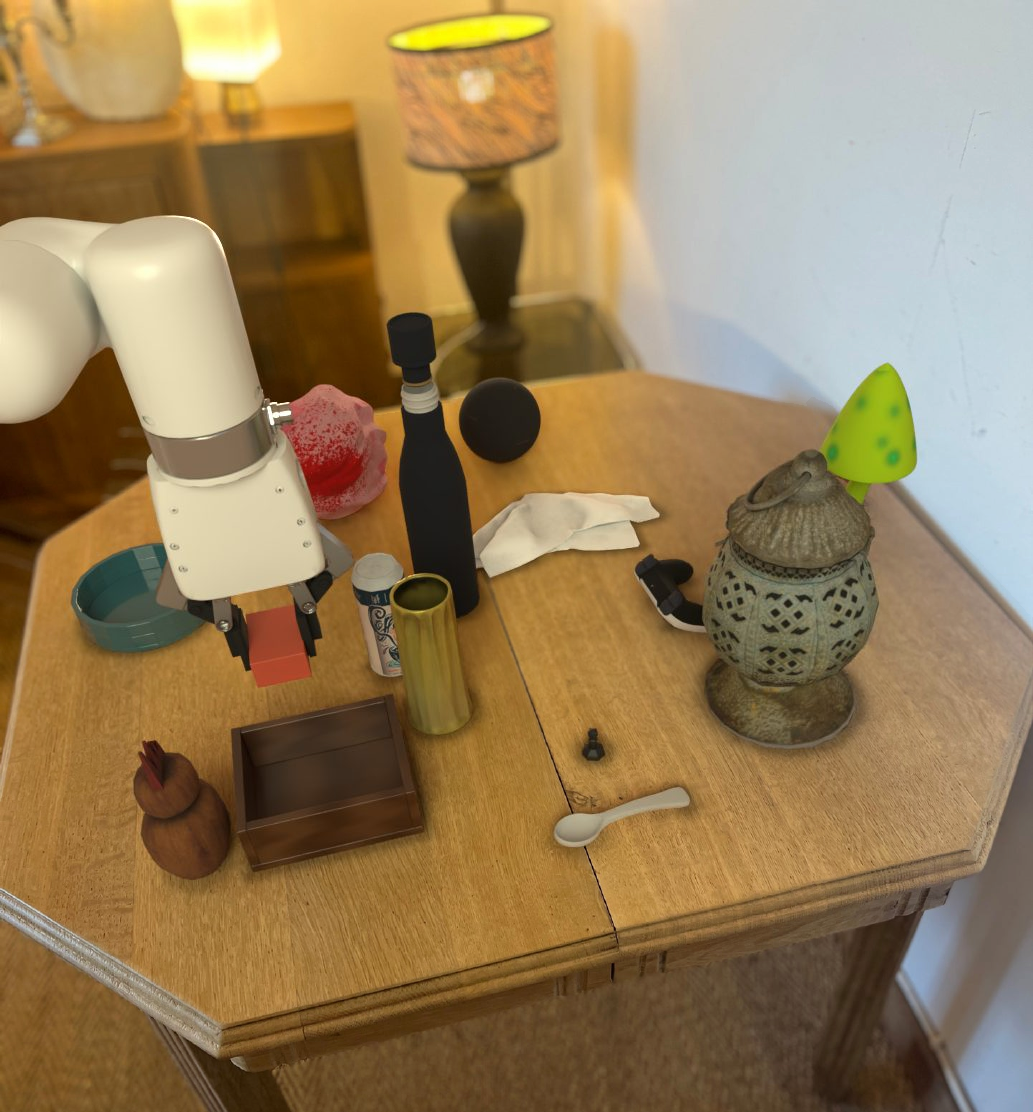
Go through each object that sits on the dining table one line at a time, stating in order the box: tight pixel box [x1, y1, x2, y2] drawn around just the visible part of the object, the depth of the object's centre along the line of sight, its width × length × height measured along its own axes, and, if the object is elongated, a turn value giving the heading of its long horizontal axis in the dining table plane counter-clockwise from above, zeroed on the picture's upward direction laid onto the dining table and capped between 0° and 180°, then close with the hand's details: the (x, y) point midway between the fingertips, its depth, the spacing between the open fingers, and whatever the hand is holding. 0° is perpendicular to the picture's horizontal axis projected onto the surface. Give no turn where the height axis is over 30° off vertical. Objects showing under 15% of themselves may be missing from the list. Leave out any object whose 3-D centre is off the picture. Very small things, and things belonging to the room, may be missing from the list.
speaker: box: [458, 377, 542, 464], centre depth 119 cm, size 10×10×10 cm
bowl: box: [70, 542, 207, 653], centre depth 104 cm, size 14×14×4 cm
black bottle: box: [386, 311, 481, 619], centre depth 92 cm, size 6×6×30 cm
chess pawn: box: [581, 727, 606, 762], centre depth 85 cm, size 2×2×3 cm
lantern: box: [702, 449, 880, 750], centre depth 81 cm, size 14×14×25 cm
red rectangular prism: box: [245, 603, 313, 689], centre depth 74 cm, size 6×4×2 cm, turn 14°
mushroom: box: [819, 362, 918, 506], centre depth 91 cm, size 8×8×25 cm
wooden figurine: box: [132, 739, 231, 881], centre depth 75 cm, size 7×6×15 cm
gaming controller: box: [633, 553, 707, 634], centre depth 98 cm, size 11×4×7 cm
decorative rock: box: [280, 383, 389, 520], centre depth 112 cm, size 19×14×15 cm
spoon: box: [553, 786, 691, 848], centre depth 80 cm, size 3×12×2 cm, turn 111°
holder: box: [230, 693, 425, 873], centre depth 82 cm, size 14×12×5 cm
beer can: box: [350, 552, 406, 678], centre depth 92 cm, size 5×5×12 cm
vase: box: [390, 573, 474, 736], centre depth 86 cm, size 6×6×14 cm
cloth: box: [472, 491, 661, 579], centre depth 110 cm, size 26×14×2 cm, turn 102°
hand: (279, 650), depth 74 cm, fingers closed on red rectangular prism, 4 cm apart
